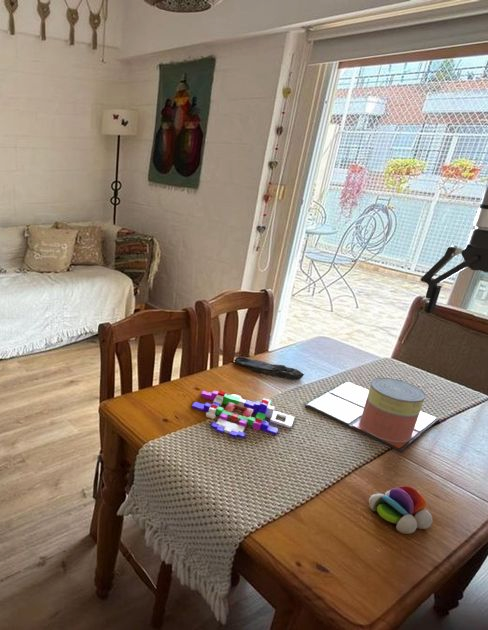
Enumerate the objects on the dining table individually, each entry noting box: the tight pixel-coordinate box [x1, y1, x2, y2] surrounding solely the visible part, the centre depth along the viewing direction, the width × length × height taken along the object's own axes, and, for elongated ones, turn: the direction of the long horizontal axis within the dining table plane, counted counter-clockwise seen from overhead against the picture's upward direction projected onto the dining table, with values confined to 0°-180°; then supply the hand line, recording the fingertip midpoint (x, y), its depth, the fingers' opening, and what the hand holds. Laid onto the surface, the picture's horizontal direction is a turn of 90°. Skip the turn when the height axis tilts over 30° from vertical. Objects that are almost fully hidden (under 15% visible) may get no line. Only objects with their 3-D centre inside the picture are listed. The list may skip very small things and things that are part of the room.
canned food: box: [360, 377, 427, 442], centre depth 112 cm, size 11×11×12 cm
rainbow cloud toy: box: [368, 485, 433, 535], centre depth 87 cm, size 8×10×7 cm
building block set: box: [191, 390, 295, 439], centre depth 120 cm, size 25×20×4 cm
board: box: [304, 381, 440, 453], centre depth 122 cm, size 24×24×1 cm
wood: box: [230, 356, 305, 381], centre depth 145 cm, size 22×7×3 cm, turn 55°
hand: (464, 320), depth 103 cm, fingers open, 13 cm apart
